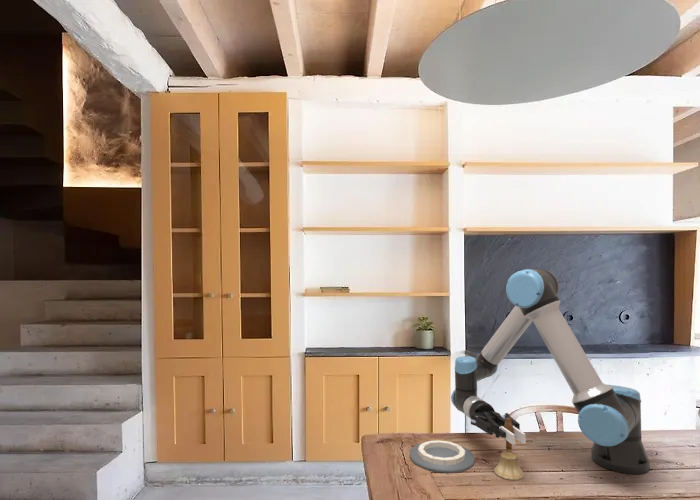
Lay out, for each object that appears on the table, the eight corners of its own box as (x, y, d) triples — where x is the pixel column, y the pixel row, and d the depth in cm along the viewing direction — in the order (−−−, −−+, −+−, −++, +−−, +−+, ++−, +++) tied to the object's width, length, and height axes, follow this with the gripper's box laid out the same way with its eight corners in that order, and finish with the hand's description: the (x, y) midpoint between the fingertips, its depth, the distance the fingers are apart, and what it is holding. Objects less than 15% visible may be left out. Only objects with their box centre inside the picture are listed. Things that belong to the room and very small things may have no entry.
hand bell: (524, 482, 121) (524, 424, 122) (493, 477, 124) (493, 420, 124) (524, 469, 129) (523, 415, 129) (494, 464, 132) (494, 411, 132)
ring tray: (476, 449, 143) (476, 441, 143) (472, 477, 124) (472, 468, 124) (416, 441, 150) (416, 433, 150) (403, 467, 131) (403, 458, 131)
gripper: (500, 420, 146) (544, 450, 123) (457, 424, 143) (493, 455, 120) (500, 398, 146) (543, 423, 123) (457, 401, 143) (493, 427, 120)
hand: (518, 439), depth 121 cm, fingers closed on hand bell, 3 cm apart
